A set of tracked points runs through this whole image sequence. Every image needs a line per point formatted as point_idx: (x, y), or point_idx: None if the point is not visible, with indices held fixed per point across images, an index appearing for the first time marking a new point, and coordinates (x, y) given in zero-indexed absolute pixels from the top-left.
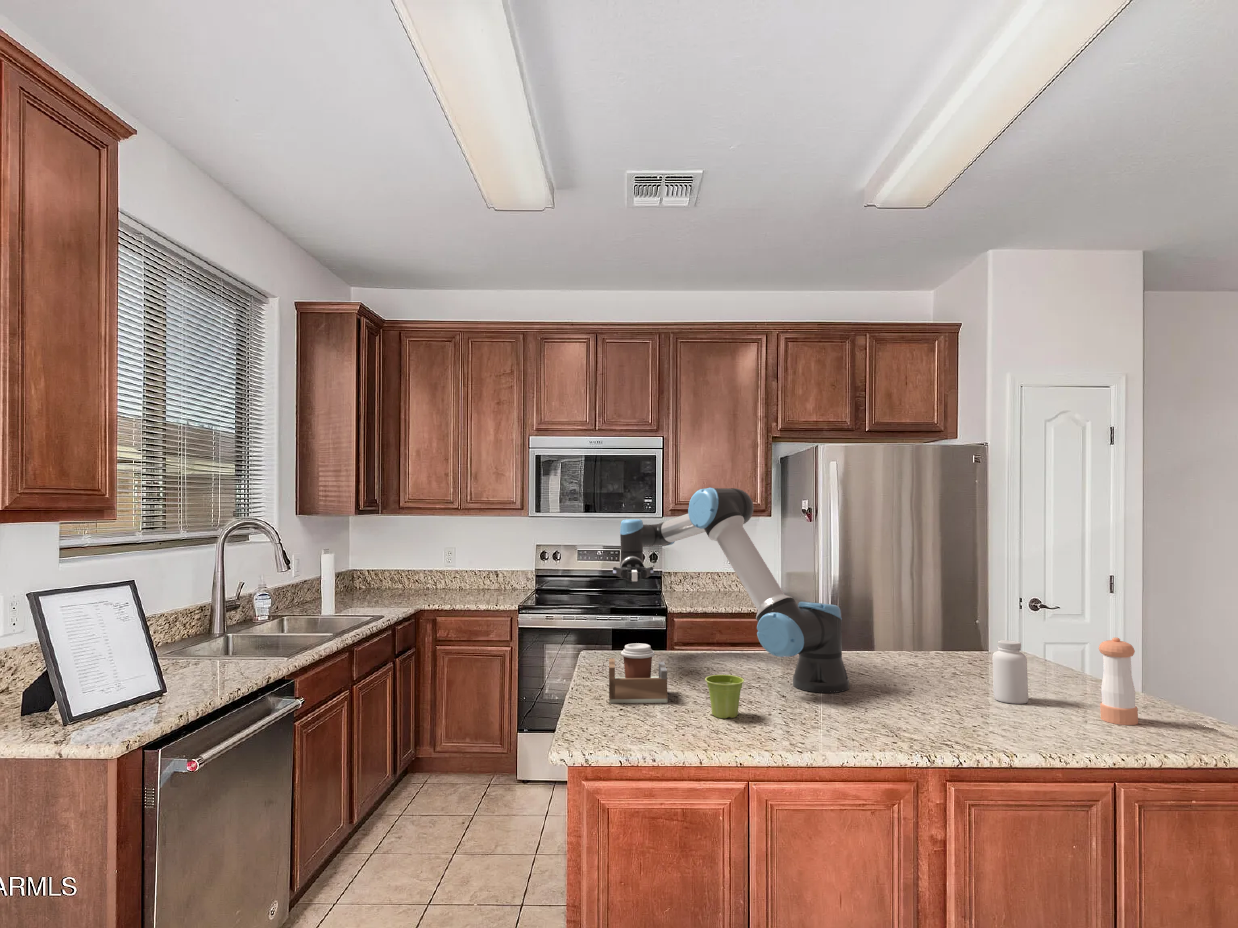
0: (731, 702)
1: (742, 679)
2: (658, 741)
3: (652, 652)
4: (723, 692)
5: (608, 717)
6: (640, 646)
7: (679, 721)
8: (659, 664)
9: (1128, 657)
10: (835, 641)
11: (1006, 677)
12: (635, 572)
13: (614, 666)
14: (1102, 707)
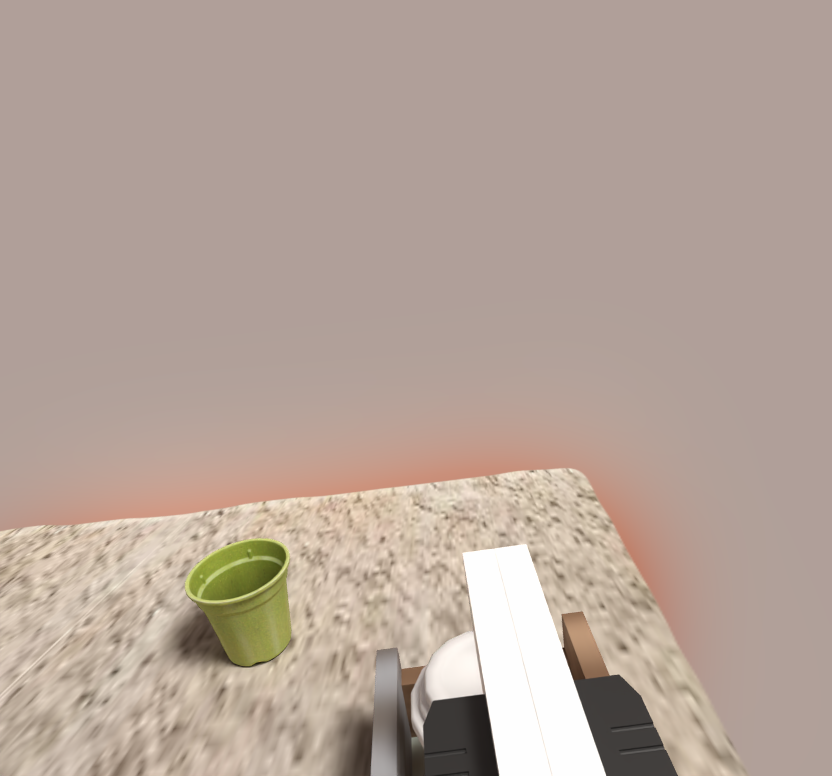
0: (247, 588)
1: (191, 574)
2: (429, 513)
3: (419, 688)
4: (262, 561)
5: (551, 598)
6: (472, 683)
7: (379, 595)
8: (396, 747)
9: None
10: None
11: None
12: (486, 555)
13: (568, 630)
14: None
